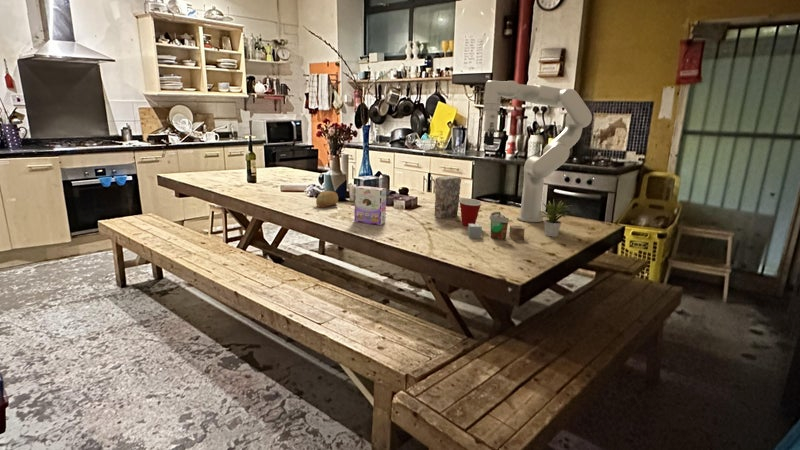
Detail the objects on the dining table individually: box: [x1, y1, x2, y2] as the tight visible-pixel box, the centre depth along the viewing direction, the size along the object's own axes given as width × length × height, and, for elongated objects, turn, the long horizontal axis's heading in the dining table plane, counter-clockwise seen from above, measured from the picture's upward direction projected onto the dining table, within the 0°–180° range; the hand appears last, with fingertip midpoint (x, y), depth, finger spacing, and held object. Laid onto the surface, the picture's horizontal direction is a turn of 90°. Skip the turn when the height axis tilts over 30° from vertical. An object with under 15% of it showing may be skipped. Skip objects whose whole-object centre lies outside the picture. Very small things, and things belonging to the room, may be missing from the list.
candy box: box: [353, 185, 387, 226], centre depth 211 cm, size 14×6×16 cm, turn 65°
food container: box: [489, 211, 510, 241], centre depth 195 cm, size 12×6×10 cm, turn 5°
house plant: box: [540, 198, 573, 238], centre depth 200 cm, size 14×14×16 cm
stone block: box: [434, 175, 462, 220], centre depth 228 cm, size 13×7×20 cm, turn 137°
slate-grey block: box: [467, 223, 483, 239], centre depth 195 cm, size 5×5×5 cm
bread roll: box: [315, 190, 339, 208], centre depth 244 cm, size 10×15×8 cm, turn 155°
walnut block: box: [508, 224, 526, 241], centre depth 195 cm, size 5×5×5 cm
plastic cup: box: [459, 197, 483, 228], centre depth 212 cm, size 11×11×12 cm
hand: (488, 144), depth 221 cm, fingers open, 9 cm apart
